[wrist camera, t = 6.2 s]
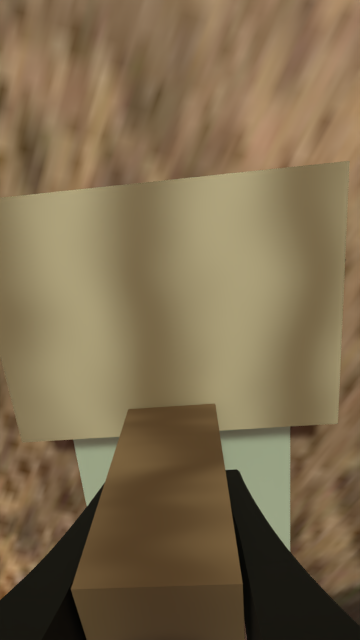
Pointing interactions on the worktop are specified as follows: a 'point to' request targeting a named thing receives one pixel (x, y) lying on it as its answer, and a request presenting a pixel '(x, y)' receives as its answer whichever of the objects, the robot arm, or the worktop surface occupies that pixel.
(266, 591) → the robot arm
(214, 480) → the walnut block
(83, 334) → the maple board
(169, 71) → the worktop surface
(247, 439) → the green mat
